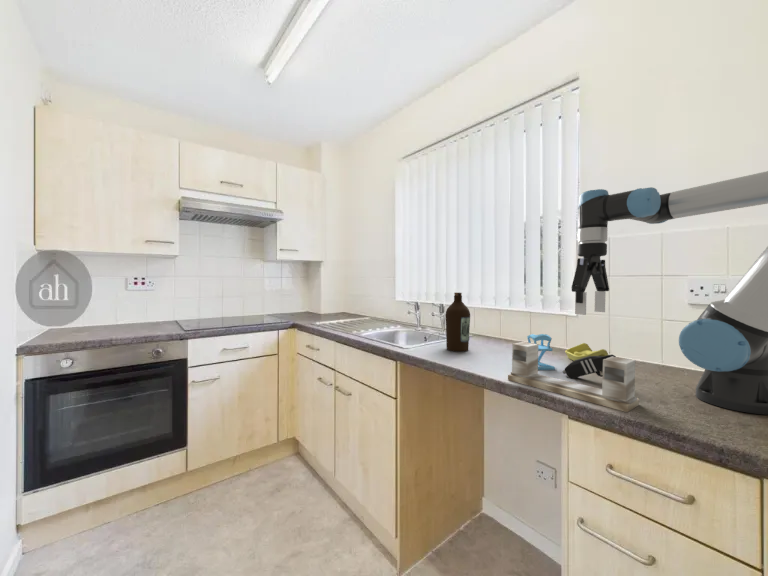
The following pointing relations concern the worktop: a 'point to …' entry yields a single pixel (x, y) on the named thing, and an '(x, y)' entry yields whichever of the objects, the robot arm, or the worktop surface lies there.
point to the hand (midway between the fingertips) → (590, 313)
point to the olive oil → (457, 325)
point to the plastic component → (583, 352)
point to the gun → (586, 366)
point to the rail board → (614, 383)
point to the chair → (542, 349)
